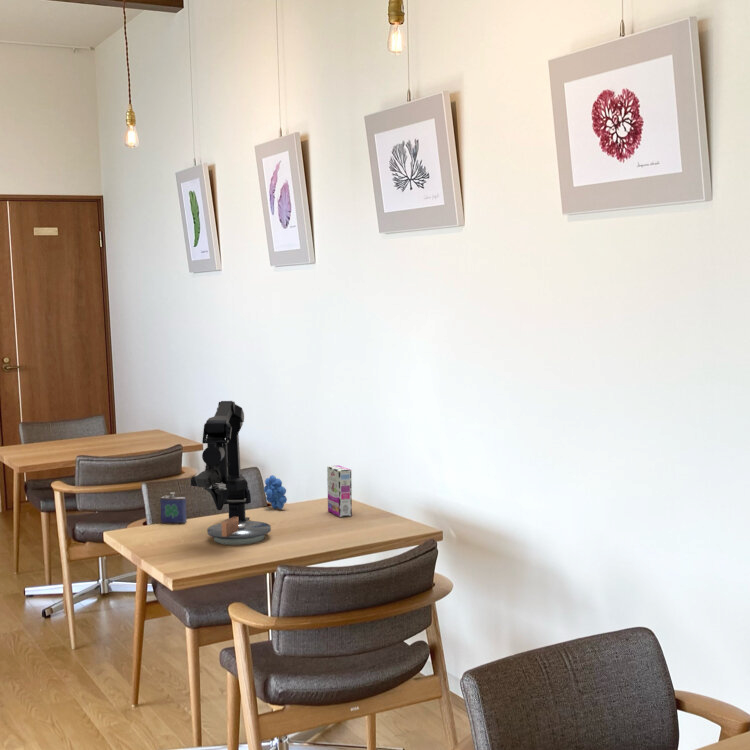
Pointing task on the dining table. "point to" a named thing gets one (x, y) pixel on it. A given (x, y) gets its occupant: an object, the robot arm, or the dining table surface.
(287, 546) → the dining table surface
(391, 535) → the dining table surface
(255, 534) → the grey disc with hub
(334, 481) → the candy bar box
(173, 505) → the flask
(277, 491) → the grapes
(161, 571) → the dining table surface
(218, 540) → the valve base
